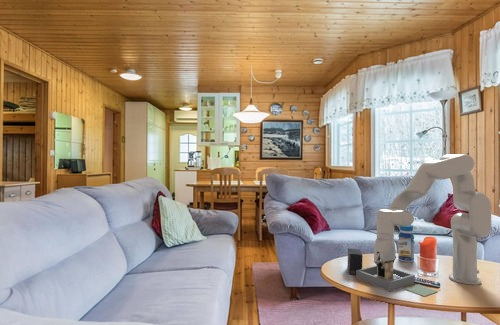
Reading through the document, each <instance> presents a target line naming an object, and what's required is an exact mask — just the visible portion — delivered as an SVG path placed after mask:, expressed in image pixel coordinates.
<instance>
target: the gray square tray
mask: <svg viewBox="0 0 500 325" xmlns="http://www.w3.org/2000/svg"><path fill="white" fill-rule="evenodd" d="M393 274H396V275H398V276H400V277H402V278H399V279H398V278H396V277H394V276H393V278H390V279H384V278H381V277H378V276H377V265H376V264H375V265H372V266H369V267H365V268H364V267H362V269H359V270H356V275H355V279H356V280H359V281H361V282H364V283H366V284H368V285H372V286H374V287H376V288H379V289H382V290H384V291H387V292H389V293H391V292H394V291H397V290H400V289H403V288H407V287H411V286H414V285H415V284H414V282H415V283H416V275H415V274H413V273H410V272H406V271H403V270H400V269H396V268H394V267H393Z"/></svg>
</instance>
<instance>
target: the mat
mask: <svg viewBox="0 0 500 325" xmlns="http://www.w3.org/2000/svg"><path fill="white" fill-rule="evenodd" d="M404 290H405V291H408V292H411V293H412V294H413V293H414V294H416V295H419V296H421V297H424V298H425V297H428V296H431V295H433V294H436V293H438V292H439V291H438V290H435V289H432V288H430V287H426V286H424V285H421V284H413V285H410V286H407V287H404Z"/></svg>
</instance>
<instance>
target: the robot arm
mask: <svg viewBox="0 0 500 325" xmlns="http://www.w3.org/2000/svg"><path fill="white" fill-rule="evenodd" d="M474 167H475V159H474V158H473V157H472V156H471V155H468V154H465V153H464V154H463V153H460V154H459V153H458V154H451V153H450V154H444V155H442V156H441V157H440V158H439V160H429V161H428V160H427V161H424V162H423V163H421V164H420V166H419V167H418V169H417V171H416V173H415V174H414V176H413V178H412V179H411V181H410V182H409V184H408V186H407V187H406V188H404V189H403V190H402V191H401V192H400V193H399V194H398V195H397V196H396V197H395V198H394V199H393V201H392V202H391V204H390V205H389V207H388V209H387V208H386V209H385V208H383V209H382V208H381V209H380V208H379V209H378V210H377V211H376V238H375V242H374V248H373V259H374V260H373V263H374V264H375V266H376V265H377V267H378V276H381V277H385V268H384V263H385V262H386V261H390V262H393V264H394V263H395V260H396V258H397V256H396V244H395V243H396V242H395V226H398V227H400V226H409V225H413V223H414V221H415V216H414V215H413V213H411V212H410V211H409V210H406V209H407V208H408V207H409V206H410V205H411V204H412V203H414V202H415V201H418V200H421V199H423V198H425V197H426V196H427V195H428V193H429V192H430V189H431V188H432V186H433V185H434V183H435V182H436V180H438V181H442V180H448V179H451V181H452V189H453V190H452V192H453V194H452V195H453V196H452V197H453V198H452V199H453V205H454V207H455V208H456V209H457V210H460V211H465V212H457V213H455V214H454V215H453V216H452V217H451V219H450V228H451V233H452V273H450V274H448V278H449V280H451V281H453V282H456V283H459V284H464V285H470V286H471V285H472V286H474V285H475V286H477V285H480V284H481V283H482V280H481V279H480V278H479V277H478V274H480V270H479V269H478V241H477V239H484V238H486V237H487V236H489V234H490V233H491V231H492V204H491V200H490V199H489V197H488V196H487V195H486V194H485V193H484V192H480V191H476V188H475V186H476V185H475V180H474V176H473V173H472V172H471V171H472V170H474ZM467 212H468V213H467ZM380 260H381V261H380ZM380 262H382V265H381V264H380Z"/></svg>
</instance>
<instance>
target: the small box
mask: <svg viewBox="0 0 500 325" xmlns="http://www.w3.org/2000/svg"><path fill="white" fill-rule="evenodd" d="M359 269H363V252H361V249H358V248H347V271H348V272H347V273H348V274H349V275H352V276H356V270H359Z"/></svg>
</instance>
